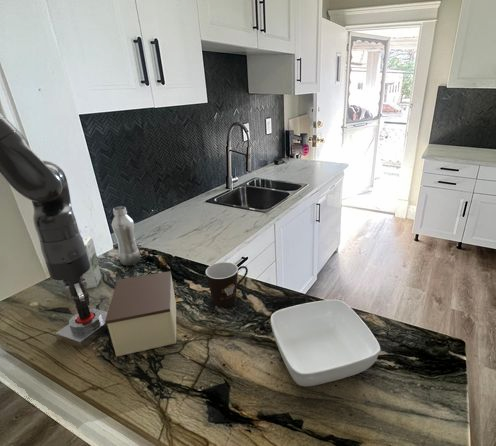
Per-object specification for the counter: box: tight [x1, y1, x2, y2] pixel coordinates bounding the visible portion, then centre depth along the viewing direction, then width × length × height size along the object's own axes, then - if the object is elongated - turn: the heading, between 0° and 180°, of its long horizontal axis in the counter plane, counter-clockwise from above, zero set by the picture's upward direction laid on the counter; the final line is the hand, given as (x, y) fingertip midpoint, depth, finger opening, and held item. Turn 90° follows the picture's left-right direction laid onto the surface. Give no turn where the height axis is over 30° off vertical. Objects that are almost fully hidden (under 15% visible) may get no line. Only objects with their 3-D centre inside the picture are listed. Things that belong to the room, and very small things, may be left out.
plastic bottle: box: [111, 205, 141, 266], centre depth 103 cm, size 6×7×20 cm
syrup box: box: [81, 236, 103, 289], centre depth 93 cm, size 6×6×14 cm
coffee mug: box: [205, 261, 249, 308], centre depth 88 cm, size 12×9×10 cm
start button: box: [76, 312, 94, 324], centre depth 76 cm, size 4×4×2 cm
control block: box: [54, 307, 109, 350], centre depth 77 cm, size 10×8×4 cm
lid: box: [105, 270, 172, 324], centre depth 74 cm, size 16×13×1 cm
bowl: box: [270, 299, 381, 387], centre depth 70 cm, size 20×20×8 cm
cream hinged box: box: [107, 275, 177, 357], centre depth 77 cm, size 16×13×10 cm
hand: (85, 316), depth 76 cm, fingers closed
